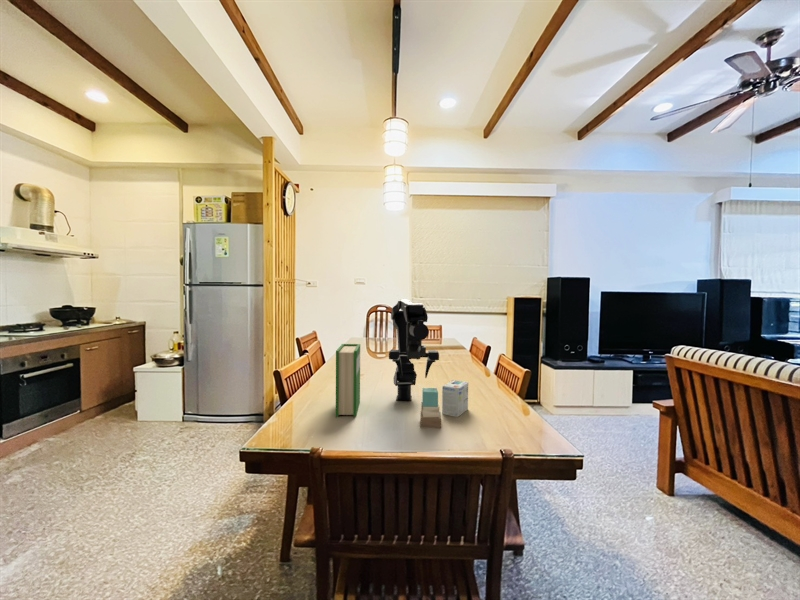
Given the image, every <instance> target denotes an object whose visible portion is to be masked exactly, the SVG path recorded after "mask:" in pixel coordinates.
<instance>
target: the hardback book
mask: <svg viewBox="0 0 800 600" xmlns="http://www.w3.org/2000/svg"><path fill="white" fill-rule="evenodd" d="M360 403H361V344H360V343H342V344H341V345H340V346H339V347H338V348H337V349H336V350H335V418H339V417H340V416H341V415H343V416H345V415H346V416H348V415H349V416H353V418H357V417H358V416H357V415H358V411H359V407H360Z"/></svg>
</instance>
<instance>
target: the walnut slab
mask: <svg viewBox="0 0 800 600" xmlns="http://www.w3.org/2000/svg"><path fill="white" fill-rule="evenodd" d="M419 414H420V425H419V427H420V428H425V429H430V428H431V429H442V415H441V414H442V412H441V411H439V417H423V415H422V413H421V412H420V413H419Z"/></svg>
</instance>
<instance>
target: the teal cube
mask: <svg viewBox="0 0 800 600" xmlns="http://www.w3.org/2000/svg"><path fill="white" fill-rule="evenodd" d="M421 398H422V399H421V402H422V403H423V407H438V405H439V391H438V388H437V387H433V388H432V387H423V388H422V397H421Z"/></svg>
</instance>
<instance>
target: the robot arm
mask: <svg viewBox="0 0 800 600" xmlns="http://www.w3.org/2000/svg"><path fill="white" fill-rule="evenodd" d="M428 318H429V317H428V313H427V310H426V307H425V306H424V304H423V303H414V302H412V301H411V300H409V299H398V301H397V303H396V304H395V305H394V306H393V307H392V309H391V313H390V319H391V320H392V325H393V327H394V328H395V329H396V335H397V337H396V338H397V349H390V350H389V353H388V359H389V360H392V362H395V364H396V368H395V371H394V372H395V373H394V375H393V385H395V387H397V395H396V399H395V400H396V401H397V402H399V401H400V402H402V401H403V402H405V401H407V402H412V401H413V395H412V386H416V381H417V376H418V375H417V372H416V370H415V365H414V363H413V362H411V360H420V359H421V358H426V364H425V374H424V375H425V376H424V378H425V379H427V377H428V374H429V371H430V368H431V366H432V364H433V363H436V361H440V353H439V351H438V350H435V349H434V350H433V349H432V350H431V349H429V350H427V348H426V347H427V346H426V345H422V343H423V342H422V341H423V340H425V339H427V337H429V333H430V330H429V328H428V326H427V325H426V324H425V323H427V322H428Z"/></svg>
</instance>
